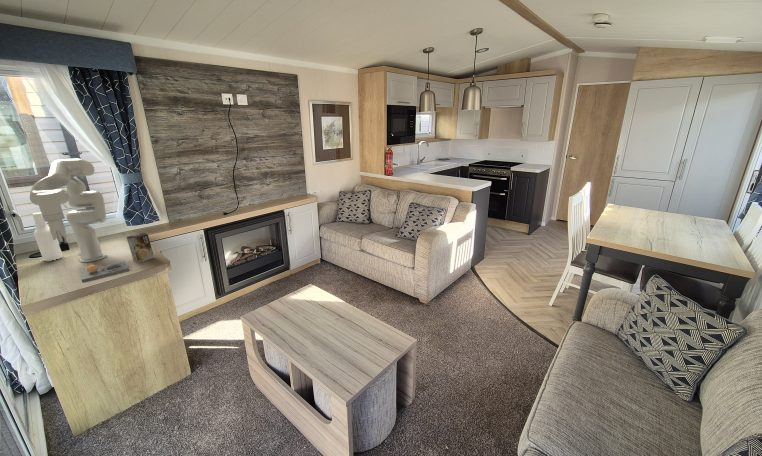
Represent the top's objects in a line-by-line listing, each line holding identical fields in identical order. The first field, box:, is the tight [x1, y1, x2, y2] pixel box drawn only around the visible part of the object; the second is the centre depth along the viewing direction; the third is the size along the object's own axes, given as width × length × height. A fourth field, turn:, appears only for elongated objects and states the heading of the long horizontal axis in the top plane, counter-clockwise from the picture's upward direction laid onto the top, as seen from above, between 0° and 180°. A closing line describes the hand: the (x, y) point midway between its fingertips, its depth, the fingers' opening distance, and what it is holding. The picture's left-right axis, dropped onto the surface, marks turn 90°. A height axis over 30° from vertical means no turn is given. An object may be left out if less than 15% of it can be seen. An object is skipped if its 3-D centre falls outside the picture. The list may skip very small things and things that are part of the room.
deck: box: [80, 260, 130, 283], centre depth 179 cm, size 20×14×2 cm
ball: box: [86, 264, 98, 273], centre depth 174 cm, size 4×4×4 cm
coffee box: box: [126, 232, 155, 264], centre depth 193 cm, size 9×6×16 cm
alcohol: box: [32, 211, 64, 262], centre depth 193 cm, size 9×9×30 cm
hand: (65, 250), depth 165 cm, fingers closed
